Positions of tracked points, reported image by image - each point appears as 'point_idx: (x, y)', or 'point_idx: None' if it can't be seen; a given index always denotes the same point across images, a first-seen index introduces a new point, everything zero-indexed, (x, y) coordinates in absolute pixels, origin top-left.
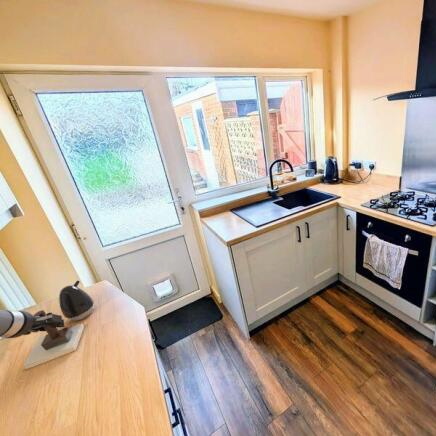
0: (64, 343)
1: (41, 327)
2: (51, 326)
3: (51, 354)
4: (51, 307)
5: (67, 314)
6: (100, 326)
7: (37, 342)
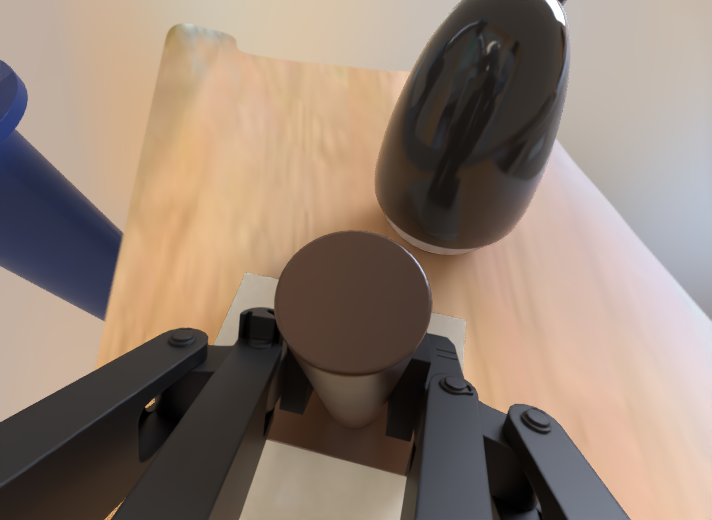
0: None
1: (302, 383)
2: (387, 426)
3: None
4: (303, 79)
5: (411, 214)
6: (558, 409)
7: (242, 303)
